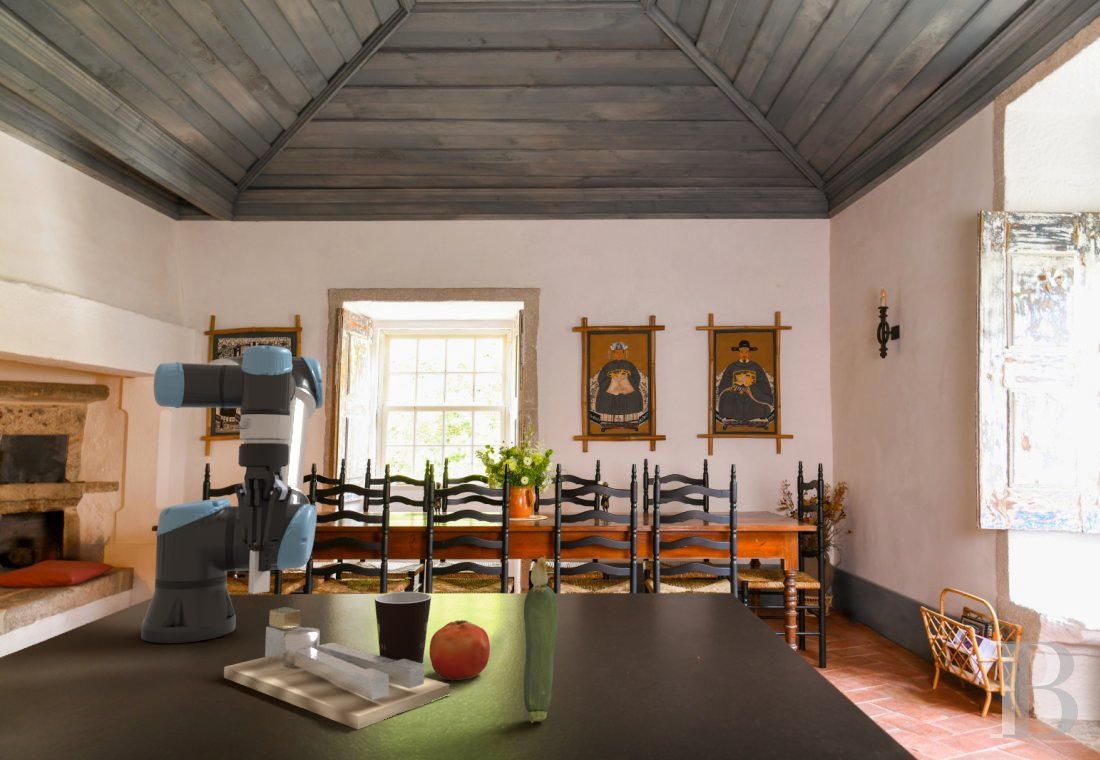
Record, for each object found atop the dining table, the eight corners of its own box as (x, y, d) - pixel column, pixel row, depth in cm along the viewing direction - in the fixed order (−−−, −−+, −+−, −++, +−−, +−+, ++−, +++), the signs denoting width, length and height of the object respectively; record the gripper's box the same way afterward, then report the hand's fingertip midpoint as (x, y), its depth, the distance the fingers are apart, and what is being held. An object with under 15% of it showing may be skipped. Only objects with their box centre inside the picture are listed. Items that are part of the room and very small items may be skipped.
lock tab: (269, 624, 112) (269, 610, 112) (285, 621, 114) (286, 606, 115) (284, 628, 110) (284, 613, 110) (300, 625, 112) (301, 610, 112)
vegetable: (522, 713, 93) (523, 552, 95) (556, 713, 93) (556, 552, 95) (524, 727, 89) (525, 557, 90) (560, 726, 89) (560, 557, 91)
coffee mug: (417, 674, 109) (419, 604, 110) (363, 670, 111) (365, 602, 111) (444, 652, 120) (445, 589, 121) (394, 649, 122) (396, 587, 123)
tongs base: (259, 658, 111) (260, 627, 112) (291, 650, 115) (291, 621, 116) (391, 702, 92) (392, 665, 93) (423, 691, 97) (424, 656, 97)
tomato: (440, 690, 102) (441, 631, 102) (419, 672, 110) (420, 617, 111) (502, 680, 106) (502, 623, 107) (477, 663, 114) (478, 610, 115)
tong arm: (294, 665, 105) (295, 647, 105) (310, 661, 106) (310, 643, 106) (371, 699, 91) (372, 678, 91) (388, 695, 92) (388, 674, 93)
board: (223, 677, 107) (224, 666, 107) (314, 654, 119) (314, 645, 119) (357, 729, 88) (358, 716, 88) (449, 695, 99) (449, 684, 100)
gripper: (221, 442, 120) (214, 590, 118) (265, 441, 112) (259, 600, 110) (263, 442, 126) (258, 584, 124) (308, 442, 118) (303, 593, 116)
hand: (258, 591), depth 117 cm, fingers closed
